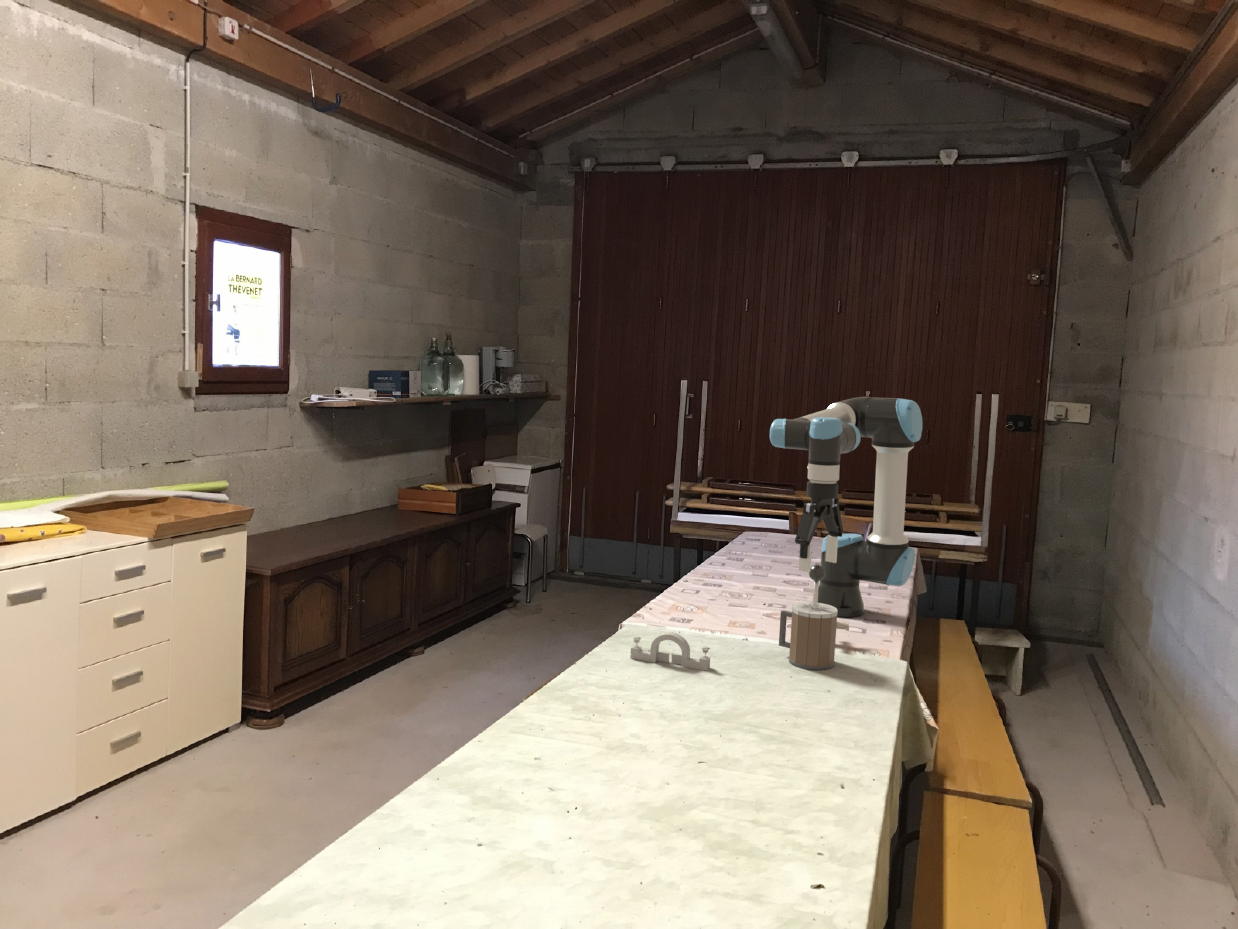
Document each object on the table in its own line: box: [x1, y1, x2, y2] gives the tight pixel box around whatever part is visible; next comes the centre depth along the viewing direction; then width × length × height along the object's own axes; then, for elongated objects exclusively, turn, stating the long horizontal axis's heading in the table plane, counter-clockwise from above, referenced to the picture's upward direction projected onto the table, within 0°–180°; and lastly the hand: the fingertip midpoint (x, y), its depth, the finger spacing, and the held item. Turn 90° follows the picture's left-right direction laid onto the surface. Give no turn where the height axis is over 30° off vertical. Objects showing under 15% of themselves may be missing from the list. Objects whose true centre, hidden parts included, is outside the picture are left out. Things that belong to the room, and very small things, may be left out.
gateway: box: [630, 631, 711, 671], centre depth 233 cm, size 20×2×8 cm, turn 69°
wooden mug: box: [778, 601, 838, 671], centre depth 237 cm, size 11×14×14 cm
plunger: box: [808, 564, 825, 610], centre depth 236 cm, size 8×8×22 cm
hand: (817, 566), depth 235 cm, fingers open, 13 cm apart
